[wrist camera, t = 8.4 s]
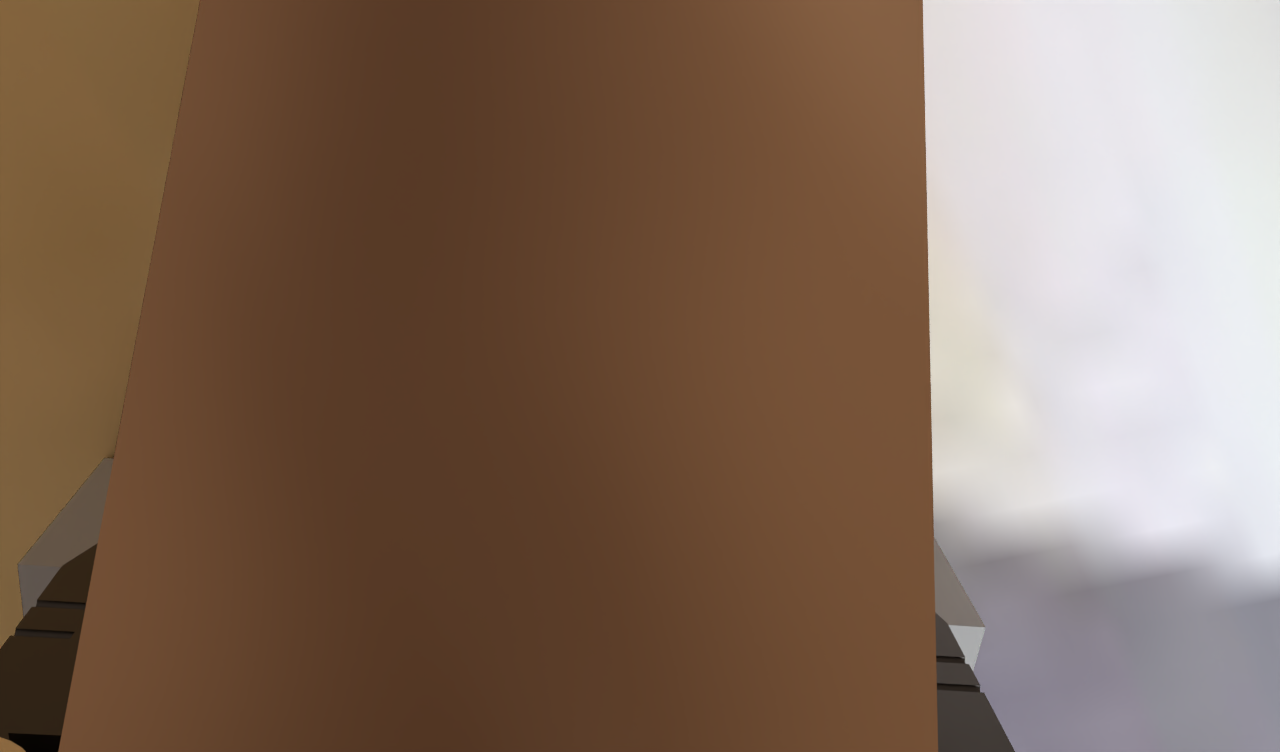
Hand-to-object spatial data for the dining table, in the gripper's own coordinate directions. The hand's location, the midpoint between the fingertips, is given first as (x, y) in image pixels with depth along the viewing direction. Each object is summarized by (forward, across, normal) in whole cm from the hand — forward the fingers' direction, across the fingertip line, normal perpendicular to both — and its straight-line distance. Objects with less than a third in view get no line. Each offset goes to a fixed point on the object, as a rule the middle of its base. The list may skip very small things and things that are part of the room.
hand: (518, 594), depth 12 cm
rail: (0, 0, +2) cm, 2 cm away
